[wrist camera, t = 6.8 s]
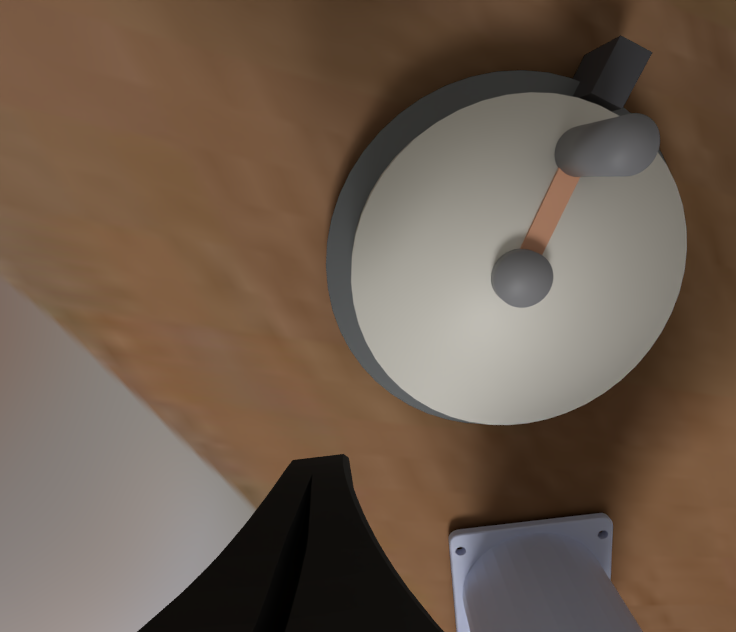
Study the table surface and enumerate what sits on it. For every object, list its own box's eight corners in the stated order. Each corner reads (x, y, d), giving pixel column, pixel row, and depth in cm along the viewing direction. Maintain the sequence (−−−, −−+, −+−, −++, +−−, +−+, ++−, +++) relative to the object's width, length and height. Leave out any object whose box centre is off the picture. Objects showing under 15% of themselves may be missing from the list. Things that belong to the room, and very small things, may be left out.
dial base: (655, 394, 21) (691, 421, 19) (351, 430, 21) (350, 461, 19) (679, 42, 17) (730, 21, 14) (300, 91, 17) (291, 78, 15)
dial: (568, 441, 20) (626, 513, 16) (309, 353, 19) (295, 405, 14) (720, 175, 17) (845, 173, 13) (423, 43, 15) (449, -9, 11)
